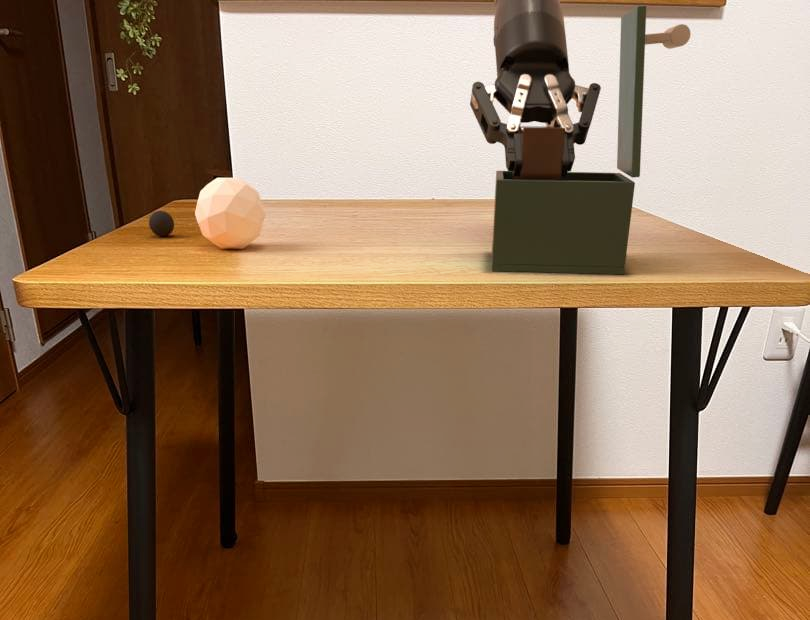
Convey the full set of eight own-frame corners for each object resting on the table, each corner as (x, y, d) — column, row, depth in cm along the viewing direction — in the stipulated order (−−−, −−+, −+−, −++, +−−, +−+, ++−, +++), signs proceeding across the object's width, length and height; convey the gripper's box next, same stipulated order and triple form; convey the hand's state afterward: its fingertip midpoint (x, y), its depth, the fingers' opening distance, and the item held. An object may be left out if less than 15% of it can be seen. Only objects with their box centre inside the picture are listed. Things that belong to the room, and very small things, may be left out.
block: (549, 218, 95) (557, 126, 91) (557, 223, 91) (565, 127, 87) (511, 218, 95) (516, 126, 90) (517, 223, 91) (523, 127, 87)
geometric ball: (252, 272, 103) (284, 218, 98) (188, 252, 98) (218, 193, 93) (240, 231, 106) (270, 176, 102) (178, 209, 102) (206, 151, 97)
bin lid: (637, 6, 78) (699, -1, 78) (621, 15, 89) (675, 10, 88) (631, 177, 85) (688, 173, 84) (616, 168, 95) (668, 164, 94)
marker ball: (180, 236, 109) (177, 210, 108) (161, 239, 107) (158, 212, 106) (164, 233, 111) (161, 208, 109) (145, 236, 108) (142, 210, 107)
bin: (491, 270, 90) (496, 179, 86) (491, 252, 100) (496, 170, 96) (624, 274, 89) (635, 182, 85) (610, 255, 99) (620, 172, 95)
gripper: (467, 8, 90) (475, 143, 85) (604, 9, 91) (620, 144, 85) (460, 67, 97) (467, 196, 92) (587, 69, 98) (601, 196, 93)
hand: (541, 170), depth 89 cm, fingers closed on block, 4 cm apart
